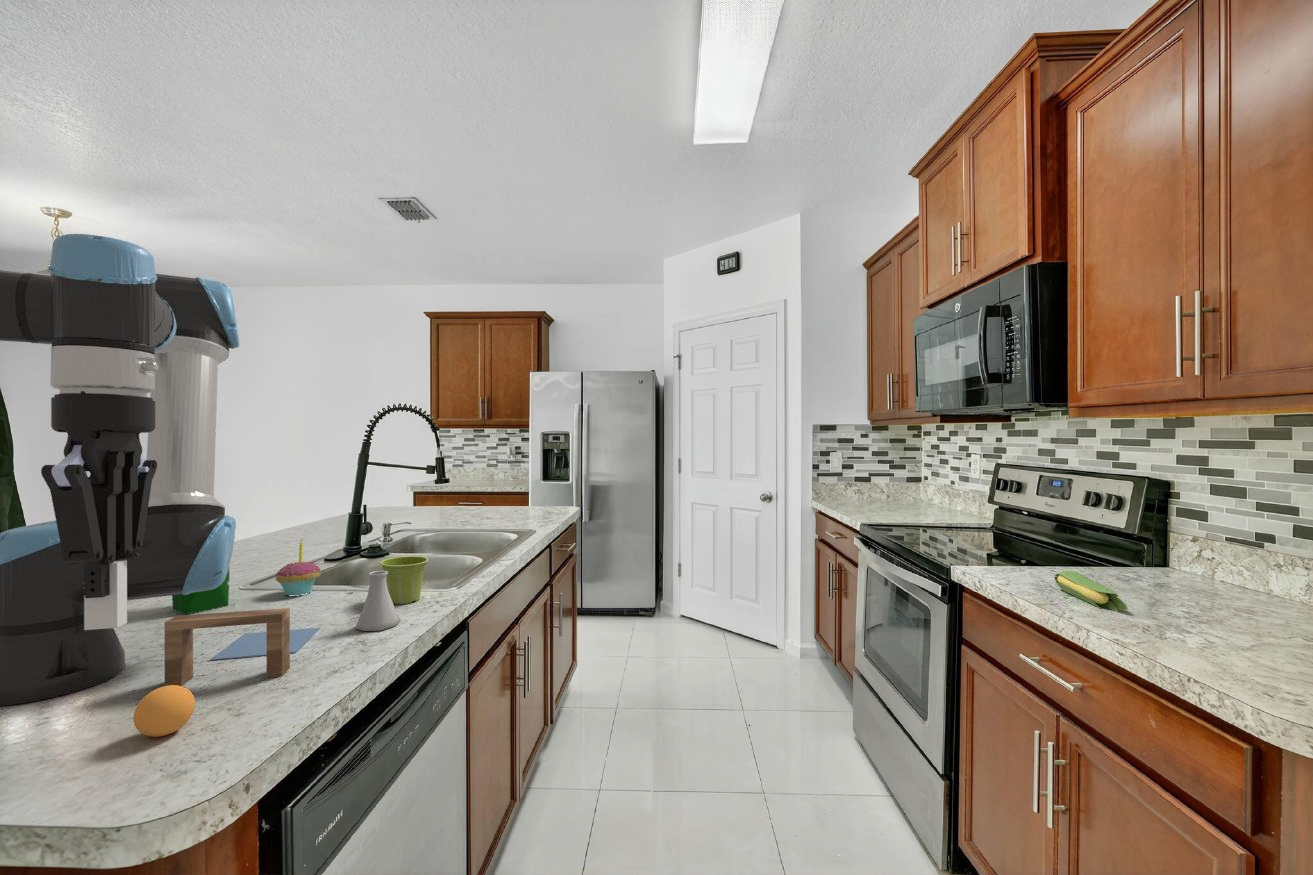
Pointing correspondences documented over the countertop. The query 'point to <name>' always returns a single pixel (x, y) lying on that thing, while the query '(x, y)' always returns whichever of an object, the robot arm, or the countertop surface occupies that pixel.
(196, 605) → the milk carton
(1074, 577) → the edible corn
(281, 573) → the cupcake
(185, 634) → the bridge
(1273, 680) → the countertop surface
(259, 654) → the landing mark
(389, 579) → the plant pot
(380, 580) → the flask
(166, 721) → the ball
